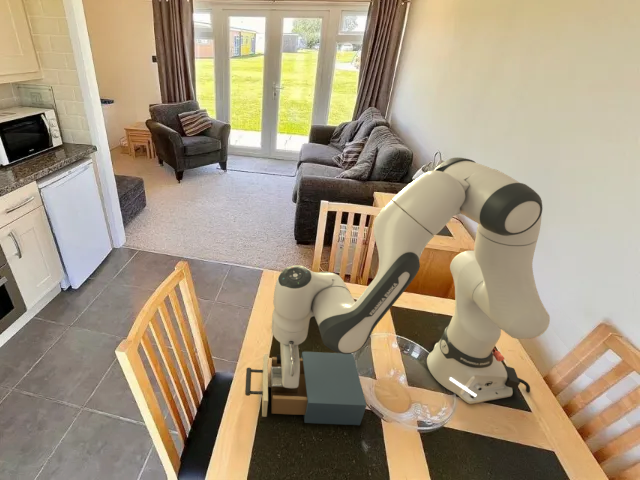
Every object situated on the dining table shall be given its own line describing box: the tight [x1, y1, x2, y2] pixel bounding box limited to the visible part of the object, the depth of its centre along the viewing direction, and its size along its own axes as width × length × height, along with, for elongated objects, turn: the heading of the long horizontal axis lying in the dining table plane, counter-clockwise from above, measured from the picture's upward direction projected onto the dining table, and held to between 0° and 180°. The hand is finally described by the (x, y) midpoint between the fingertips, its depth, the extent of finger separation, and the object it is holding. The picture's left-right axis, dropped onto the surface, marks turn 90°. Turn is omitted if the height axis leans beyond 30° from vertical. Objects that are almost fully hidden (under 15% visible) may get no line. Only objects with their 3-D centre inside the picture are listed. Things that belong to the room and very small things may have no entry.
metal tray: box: [270, 354, 298, 393], centre depth 84 cm, size 7×5×11 cm
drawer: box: [244, 353, 308, 418], centre depth 87 cm, size 18×13×7 cm
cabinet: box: [300, 351, 368, 426], centre depth 87 cm, size 15×14×9 cm
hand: (286, 361), depth 82 cm, fingers closed on metal tray
